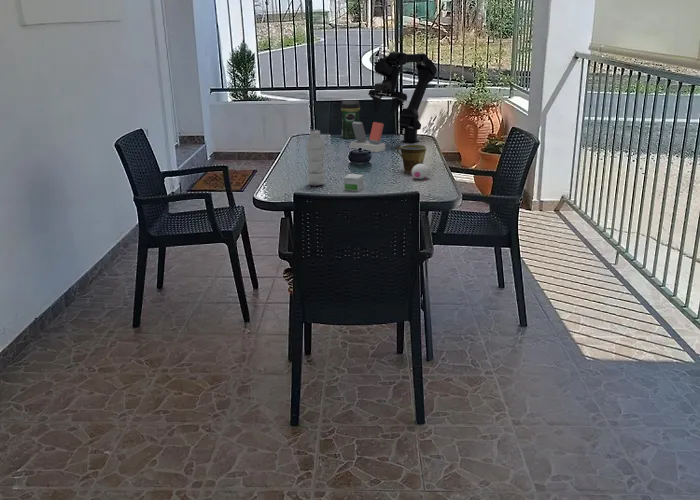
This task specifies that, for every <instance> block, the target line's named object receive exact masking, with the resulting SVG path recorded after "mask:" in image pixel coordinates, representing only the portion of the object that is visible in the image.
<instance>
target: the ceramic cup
mask: <svg viewBox="0 0 700 500" xmlns="http://www.w3.org/2000/svg"><path fill="white" fill-rule="evenodd" d="M399 149H400V151H399ZM426 151H427V146H426V145H421V144H416V143H415V144H414V143H410V144H404V145H401V146H399V145H398V146H397V148H396V152H397V154H398V155H399V156H400V157H401V158H402V163H403V164H402V165H403V169H404V170H403V171H404V173H405V174H410V175H412V173H411V172H412V169H413V167H414V166H415V165H417V164H424V161H425V157H426V156H425V155H426Z"/></svg>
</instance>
